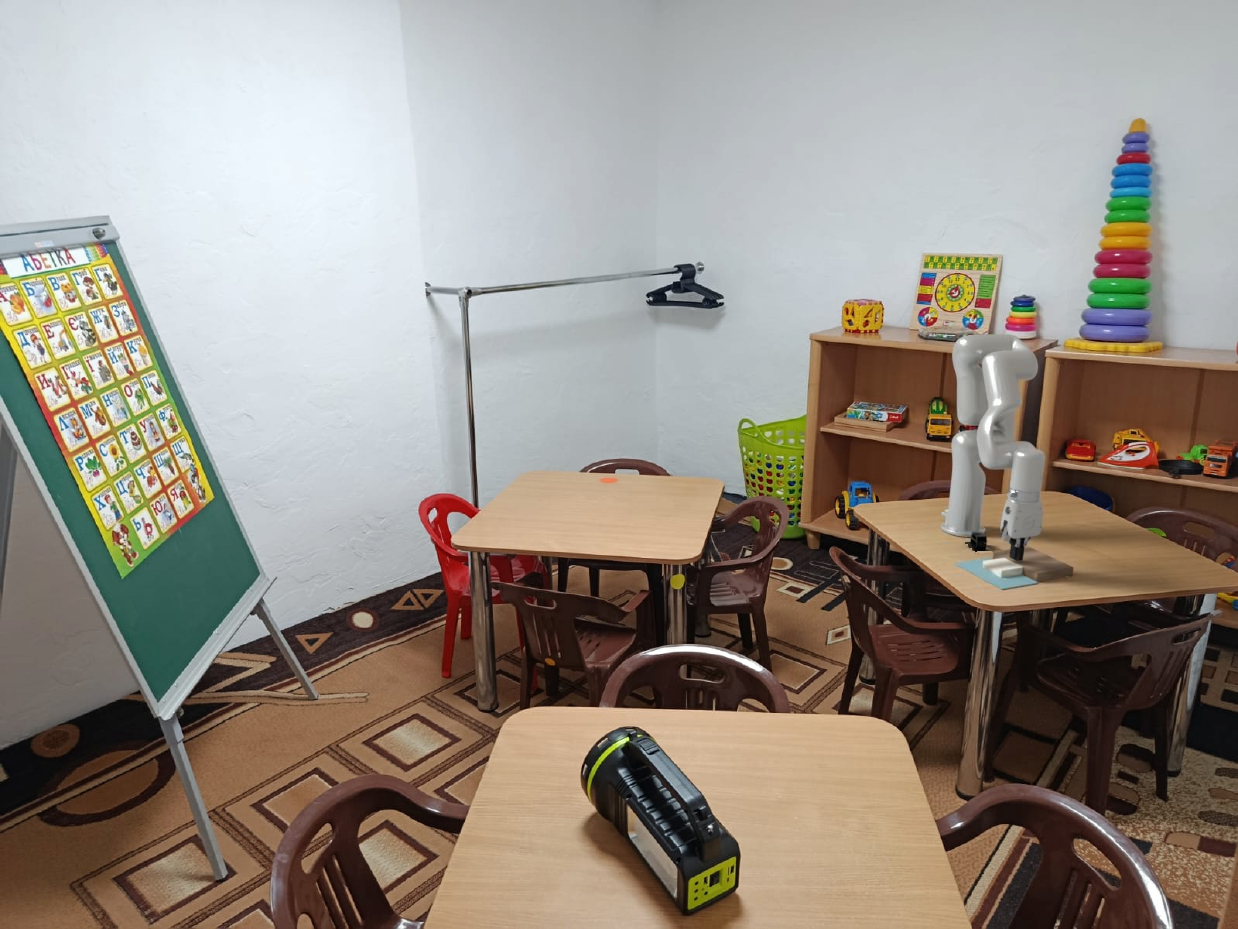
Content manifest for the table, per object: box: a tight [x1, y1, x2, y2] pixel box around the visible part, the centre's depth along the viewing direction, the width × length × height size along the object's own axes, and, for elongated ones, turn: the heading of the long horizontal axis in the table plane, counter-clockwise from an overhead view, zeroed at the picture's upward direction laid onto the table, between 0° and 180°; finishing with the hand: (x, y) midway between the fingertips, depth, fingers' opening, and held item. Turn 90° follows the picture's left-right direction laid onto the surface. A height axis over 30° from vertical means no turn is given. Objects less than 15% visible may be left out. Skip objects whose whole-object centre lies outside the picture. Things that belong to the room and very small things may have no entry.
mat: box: [954, 557, 1039, 591], centre depth 224 cm, size 18×12×1 cm, turn 18°
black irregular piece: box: [964, 532, 992, 552], centre depth 242 cm, size 12×7×5 cm, turn 1°
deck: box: [992, 545, 1074, 583], centre depth 227 cm, size 16×12×2 cm
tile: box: [982, 558, 1023, 577], centre depth 225 cm, size 7×7×2 cm
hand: (1015, 558), depth 225 cm, fingers closed
